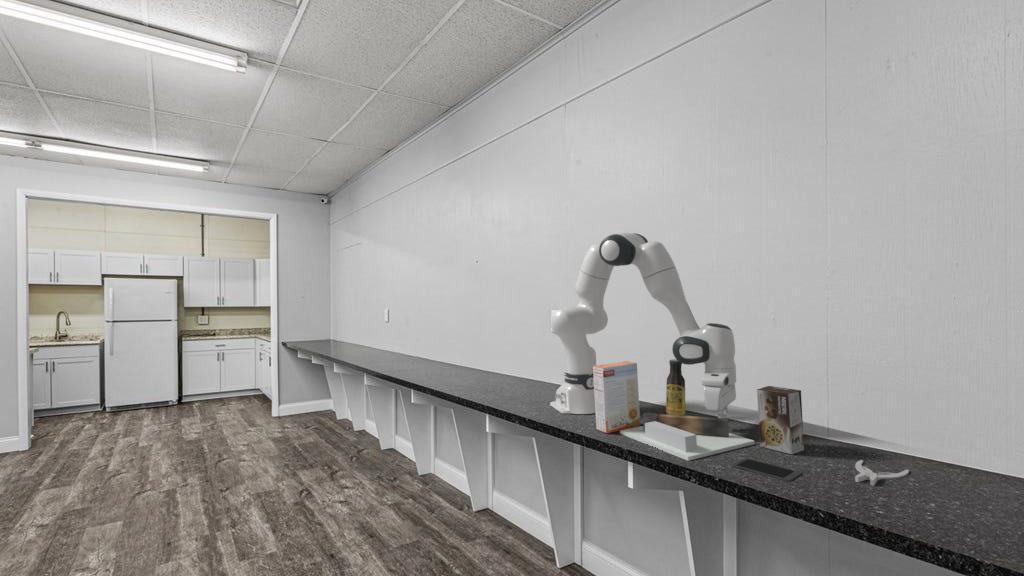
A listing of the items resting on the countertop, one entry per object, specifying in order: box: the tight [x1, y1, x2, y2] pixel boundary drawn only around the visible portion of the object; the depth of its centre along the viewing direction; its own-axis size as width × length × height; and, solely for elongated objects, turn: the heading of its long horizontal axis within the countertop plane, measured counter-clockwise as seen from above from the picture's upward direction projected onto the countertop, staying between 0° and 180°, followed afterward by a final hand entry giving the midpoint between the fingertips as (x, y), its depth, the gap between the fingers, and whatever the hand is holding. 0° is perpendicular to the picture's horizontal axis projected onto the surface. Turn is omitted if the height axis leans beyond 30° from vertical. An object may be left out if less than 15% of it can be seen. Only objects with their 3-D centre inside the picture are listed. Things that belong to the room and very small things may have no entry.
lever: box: [642, 412, 730, 437], centre depth 145 cm, size 24×4×4 cm, turn 65°
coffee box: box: [756, 385, 805, 455], centre depth 132 cm, size 9×6×16 cm
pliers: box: [854, 459, 910, 487], centre depth 112 cm, size 10×2×15 cm
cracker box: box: [593, 361, 641, 434], centre depth 156 cm, size 14×6×21 cm, turn 117°
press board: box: [619, 421, 755, 462], centre depth 143 cm, size 28×25×5 cm
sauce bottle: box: [665, 358, 686, 416], centre depth 166 cm, size 6×6×20 cm
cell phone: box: [731, 457, 803, 483], centre depth 117 cm, size 7×14×1 cm, turn 38°
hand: (722, 420), depth 150 cm, fingers closed
